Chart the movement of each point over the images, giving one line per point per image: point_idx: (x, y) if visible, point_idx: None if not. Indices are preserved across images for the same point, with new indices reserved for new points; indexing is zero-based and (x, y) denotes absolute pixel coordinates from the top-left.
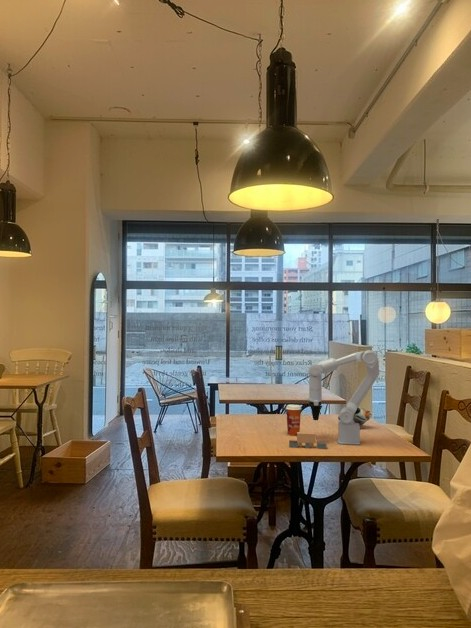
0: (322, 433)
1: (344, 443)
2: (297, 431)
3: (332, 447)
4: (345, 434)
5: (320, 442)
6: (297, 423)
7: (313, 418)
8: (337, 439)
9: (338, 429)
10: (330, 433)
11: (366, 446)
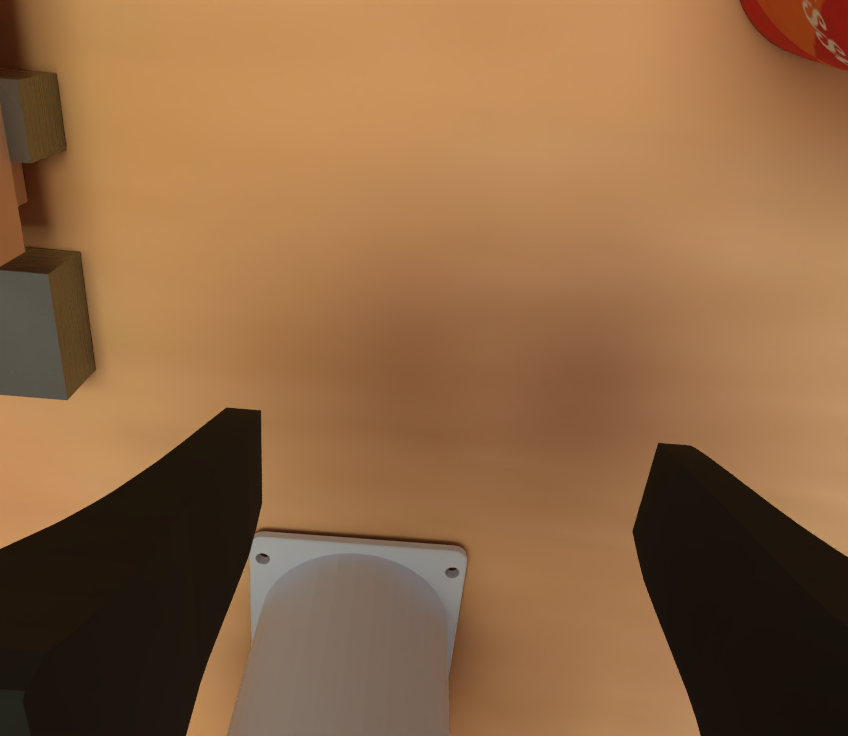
0: (824, 435)
1: (252, 587)
2: (770, 11)
3: (75, 438)
4: (242, 685)
5: (5, 323)
6: (845, 7)
7: (205, 429)
8: (412, 552)
9: (344, 669)
10: (805, 527)
11: (215, 733)
